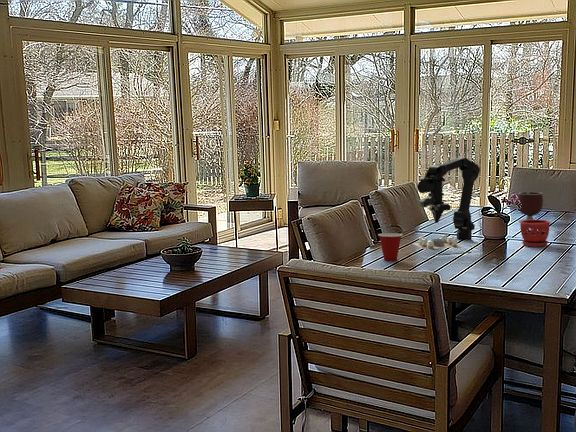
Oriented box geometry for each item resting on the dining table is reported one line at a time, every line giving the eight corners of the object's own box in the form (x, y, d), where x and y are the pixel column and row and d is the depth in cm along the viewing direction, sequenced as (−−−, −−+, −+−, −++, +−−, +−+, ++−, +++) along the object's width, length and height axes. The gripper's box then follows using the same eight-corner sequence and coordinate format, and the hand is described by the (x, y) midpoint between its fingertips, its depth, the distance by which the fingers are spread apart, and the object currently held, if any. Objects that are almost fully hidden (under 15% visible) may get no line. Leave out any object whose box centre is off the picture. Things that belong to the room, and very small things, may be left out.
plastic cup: (404, 257, 293) (404, 231, 291) (400, 262, 283) (400, 236, 281) (380, 256, 296) (380, 231, 295) (376, 261, 286) (375, 235, 285)
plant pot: (549, 243, 314) (550, 219, 312) (548, 248, 302) (548, 223, 300) (521, 242, 319) (521, 218, 318) (518, 247, 308) (519, 222, 306)
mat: (461, 248, 308) (461, 248, 308) (471, 252, 298) (471, 252, 298) (426, 251, 304) (426, 250, 304) (435, 255, 295) (435, 254, 295)
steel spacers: (447, 241, 321) (447, 234, 320) (460, 246, 308) (460, 239, 307) (416, 243, 318) (416, 236, 317) (427, 248, 305) (427, 241, 304)
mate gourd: (521, 219, 387) (521, 186, 384) (545, 221, 379) (545, 187, 376) (513, 223, 374) (513, 189, 371) (537, 224, 366) (538, 190, 363)
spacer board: (449, 243, 323) (449, 240, 322) (463, 248, 308) (463, 246, 308) (412, 245, 319) (412, 243, 319) (424, 251, 304) (424, 249, 304)
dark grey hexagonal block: (441, 243, 316) (441, 238, 316) (447, 245, 310) (447, 240, 310) (428, 244, 315) (428, 239, 315) (433, 246, 309) (433, 241, 309)
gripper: (413, 190, 318) (413, 221, 320) (429, 194, 300) (429, 227, 302) (433, 188, 320) (434, 219, 323) (451, 192, 302) (451, 225, 304)
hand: (436, 222), depth 313 cm, fingers closed
